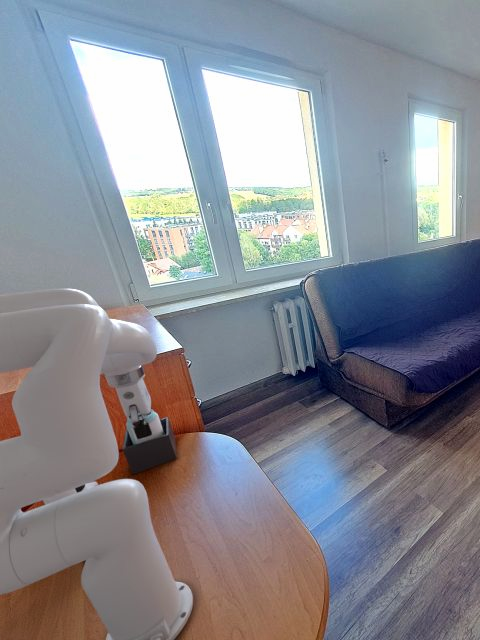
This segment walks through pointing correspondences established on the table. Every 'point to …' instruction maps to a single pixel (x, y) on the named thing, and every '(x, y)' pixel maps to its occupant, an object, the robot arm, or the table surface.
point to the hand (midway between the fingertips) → (145, 428)
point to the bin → (150, 449)
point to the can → (153, 423)
